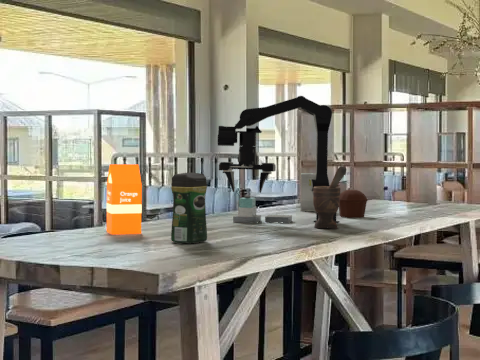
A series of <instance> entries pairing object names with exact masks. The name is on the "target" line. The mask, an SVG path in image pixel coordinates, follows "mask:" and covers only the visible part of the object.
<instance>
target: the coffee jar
mask: <svg viewBox="0 0 480 360" xmlns="http://www.w3.org/2000/svg"><path fill="white" fill-rule="evenodd" d="M170 188H171V192H172V199H173V200H172V202H173V204H172V219H171V232H170V233H171V234H170V240H171V242H173V243H175V244H178V243H180V244H179V245H182V244H190V245H191V243H194V244H199V242H200V243H204V242H206V241H207V239H208V228H207V215H206V214H207V213H206V212H207V211H206V210H207V209H206V194H207V189H208V182H207V176H206V175H205V174H204V173H199V172H182V173H175V174H173V176H172V177H171V186H170Z"/></svg>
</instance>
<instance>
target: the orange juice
mask: <svg viewBox="0 0 480 360" xmlns="http://www.w3.org/2000/svg"><path fill="white" fill-rule="evenodd" d="M141 178H142V177H141V172H140V165H139V164H136V163H134V164H127V163H126V164H123V163H122V164H120V163H119V164H118V163H117V164H113V163H111V164H109V167H108V173H107V181H106V232H107V233H108V234H110V235H141V234H142V213H143V210H142V206H143V204H142V201H143V200H142V199H143V198H142V194H143V193H142V190H143V189H142V187H143V186H142V179H141Z"/></svg>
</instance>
